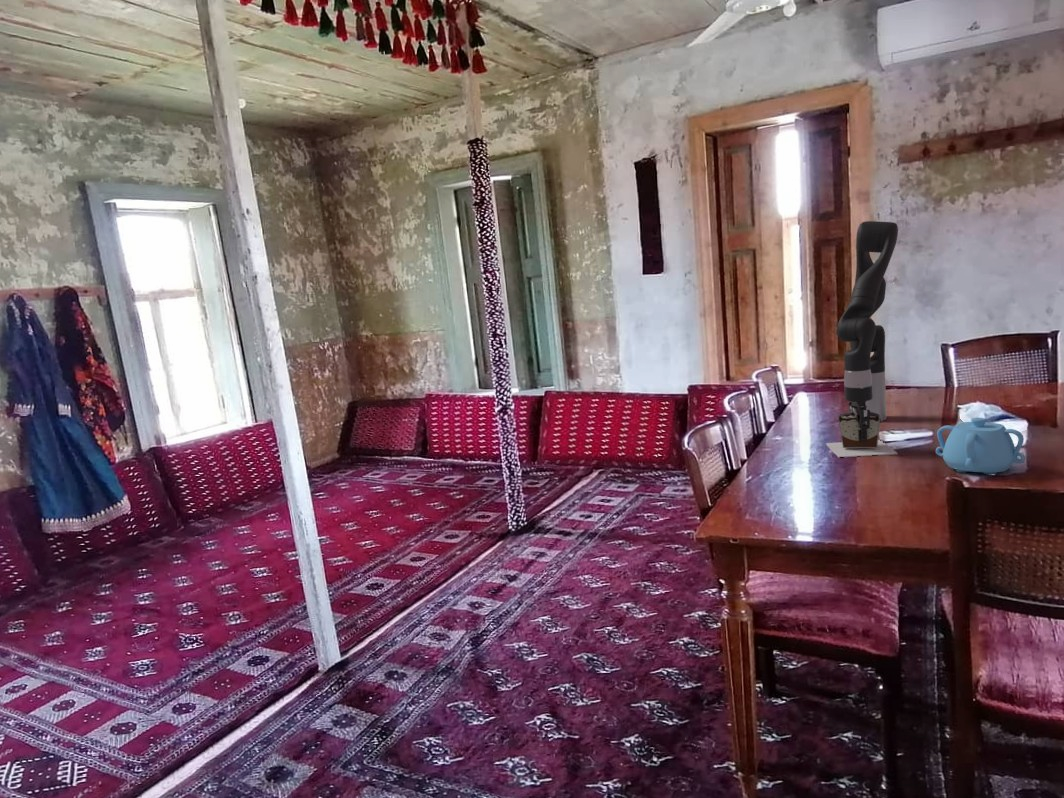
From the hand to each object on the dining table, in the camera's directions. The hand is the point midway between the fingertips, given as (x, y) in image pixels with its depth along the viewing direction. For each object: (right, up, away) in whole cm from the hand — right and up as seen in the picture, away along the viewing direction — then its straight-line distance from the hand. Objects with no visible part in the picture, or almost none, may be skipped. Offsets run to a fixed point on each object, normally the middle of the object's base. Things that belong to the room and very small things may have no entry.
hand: (860, 438), depth 206 cm
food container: (+1, -2, +1) cm, 3 cm away
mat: (0, -3, 0) cm, 3 cm away
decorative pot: (+17, -6, -29) cm, 34 cm away
